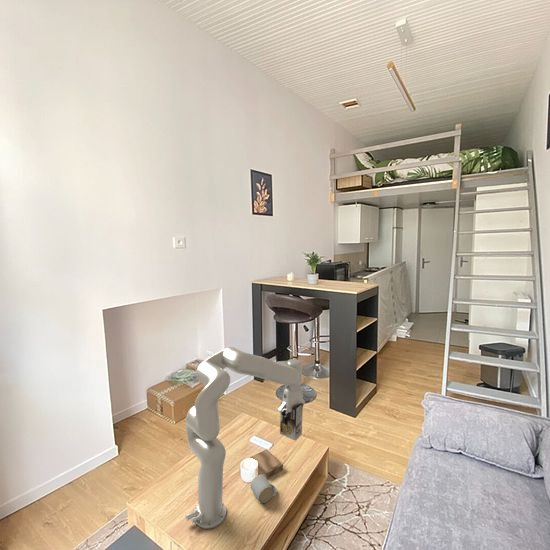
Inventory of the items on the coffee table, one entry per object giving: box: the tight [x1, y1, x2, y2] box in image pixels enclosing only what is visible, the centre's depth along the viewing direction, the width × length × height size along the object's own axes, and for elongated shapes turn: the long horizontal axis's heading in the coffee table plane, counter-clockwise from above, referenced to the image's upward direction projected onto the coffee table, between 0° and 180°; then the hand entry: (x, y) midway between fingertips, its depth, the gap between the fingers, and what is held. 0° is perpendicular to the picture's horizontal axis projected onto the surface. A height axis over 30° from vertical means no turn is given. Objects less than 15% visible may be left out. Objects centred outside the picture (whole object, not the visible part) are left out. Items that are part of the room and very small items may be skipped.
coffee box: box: [279, 402, 304, 442], centre depth 149 cm, size 9×6×16 cm
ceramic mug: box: [250, 473, 278, 504], centre depth 132 cm, size 11×8×8 cm
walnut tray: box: [250, 449, 284, 480], centre depth 150 cm, size 10×13×3 cm
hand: (291, 420), depth 149 cm, fingers closed on coffee box, 7 cm apart
